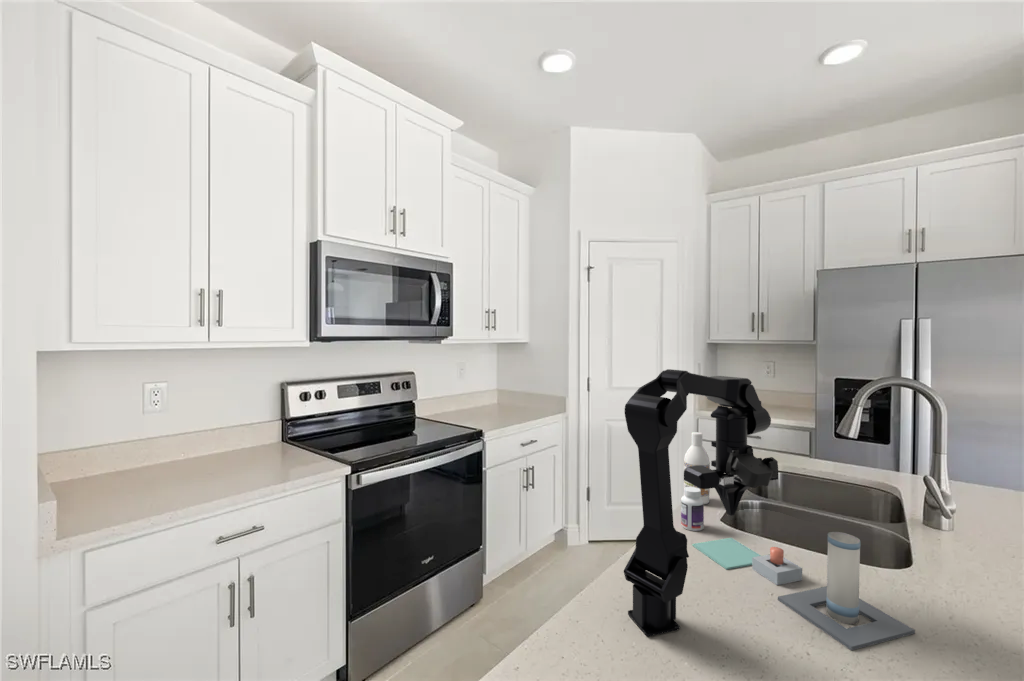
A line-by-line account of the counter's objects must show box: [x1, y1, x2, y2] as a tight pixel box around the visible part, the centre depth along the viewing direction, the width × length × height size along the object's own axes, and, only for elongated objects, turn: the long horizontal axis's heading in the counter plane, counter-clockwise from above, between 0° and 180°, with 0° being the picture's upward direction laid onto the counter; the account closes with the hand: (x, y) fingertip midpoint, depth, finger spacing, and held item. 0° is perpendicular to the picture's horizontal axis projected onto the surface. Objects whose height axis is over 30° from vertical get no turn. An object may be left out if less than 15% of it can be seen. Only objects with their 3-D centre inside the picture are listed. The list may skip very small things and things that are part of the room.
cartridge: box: [825, 531, 861, 625], centre depth 81 cm, size 5×5×14 cm
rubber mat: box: [691, 537, 762, 571], centre depth 103 cm, size 11×11×1 cm
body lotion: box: [683, 431, 711, 505], centre depth 134 cm, size 7×7×20 cm
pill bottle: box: [680, 487, 705, 532], centre depth 117 cm, size 5×5×10 cm
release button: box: [769, 546, 785, 565], centre depth 95 cm, size 2×2×2 cm
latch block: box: [751, 553, 803, 586], centre depth 95 cm, size 6×6×2 cm
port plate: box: [777, 585, 916, 651], centre depth 81 cm, size 14×14×1 cm
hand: (730, 514), depth 93 cm, fingers closed
